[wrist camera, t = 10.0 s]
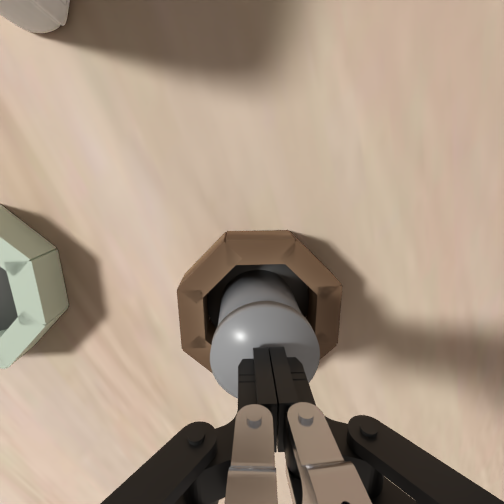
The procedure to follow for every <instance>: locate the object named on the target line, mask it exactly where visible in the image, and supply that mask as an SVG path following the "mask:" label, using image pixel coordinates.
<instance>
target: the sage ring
mask: <svg viewBox="0 0 504 504" xmlns="http://www.w3.org/2000/svg"><path fill="white" fill-rule="evenodd" d="M55 249H56V247H55V246H54V245H52V244H51V243H50V242H49V241H47V240H46V239H45V238H43V237H42V236H41V235H40V234H38V233H37V232H36V231H34V230H33V229H32V228H31V227H29V226H28V225H27V224H25V223H24V222H23V221H21V220H20V219H19V218H18V217H16V216H15V215H14V214H12V213H11V212H10V211H9V210H7V209H6V208H5V207H3V206H2V205H1V204H0V369H5V368H8V367H10V366H11V365H12V364H13V363H14V362H15V361H17V360H18V359H19V358H20V357H21V356H22V355H24V354H25V353H26V352H27V351H28V350H29V349H30V348H32V347H33V346H34V345H35V344H36V343H37V342H38V341H39V340H40V338H41V337H42V336H43V335H44V334H45V333H46V332H47V331H48V330H49V328H50V327H51V326H52V325H53V324H54V323H55V322H56V321H57V320H58V318H59V317H60V316H61V315H62V314H63V313H64V312H65V311H66V310H67V308H68V306H69V303H68V298H67V293H66V288H65V283H64V278H63V273H62V268H61V263H60V258H59V253H58V249H57V250H55Z"/></svg>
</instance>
